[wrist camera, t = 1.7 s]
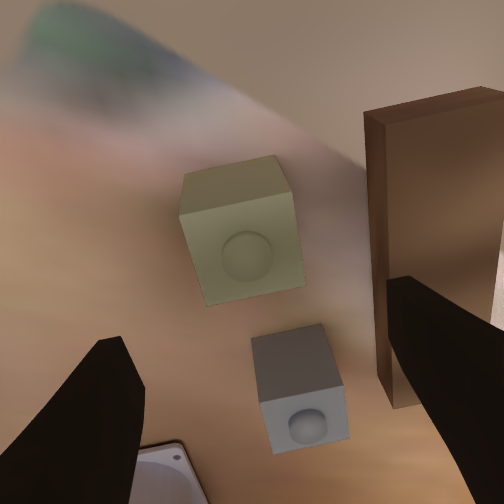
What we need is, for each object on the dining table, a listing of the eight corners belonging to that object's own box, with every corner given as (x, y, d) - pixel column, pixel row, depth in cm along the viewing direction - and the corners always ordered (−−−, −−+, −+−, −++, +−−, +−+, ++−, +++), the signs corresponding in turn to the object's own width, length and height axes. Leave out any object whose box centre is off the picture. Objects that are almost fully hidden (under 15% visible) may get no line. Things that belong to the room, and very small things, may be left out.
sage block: (287, 233, 20) (309, 294, 16) (207, 250, 20) (206, 316, 16) (274, 154, 18) (295, 198, 14) (185, 173, 18) (176, 223, 14)
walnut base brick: (458, 359, 25) (481, 391, 23) (377, 375, 25) (393, 409, 23) (480, 86, 17) (519, 95, 15) (363, 112, 17) (385, 125, 15)
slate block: (327, 373, 25) (353, 449, 21) (263, 386, 25) (274, 465, 21) (320, 323, 23) (347, 395, 19) (250, 337, 23) (260, 413, 19)
